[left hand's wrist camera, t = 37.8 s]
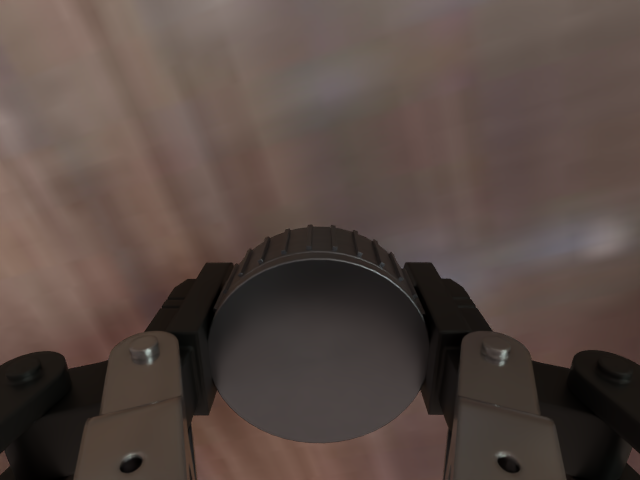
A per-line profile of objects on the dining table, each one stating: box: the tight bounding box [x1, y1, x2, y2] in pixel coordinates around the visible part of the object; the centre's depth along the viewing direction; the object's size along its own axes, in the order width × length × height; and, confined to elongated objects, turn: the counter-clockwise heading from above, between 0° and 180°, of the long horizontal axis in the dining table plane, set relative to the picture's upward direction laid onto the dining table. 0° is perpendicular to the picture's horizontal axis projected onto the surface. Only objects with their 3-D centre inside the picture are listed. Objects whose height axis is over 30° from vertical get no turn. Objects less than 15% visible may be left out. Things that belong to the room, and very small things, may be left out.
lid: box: [208, 225, 430, 443], centre depth 10 cm, size 5×5×2 cm
